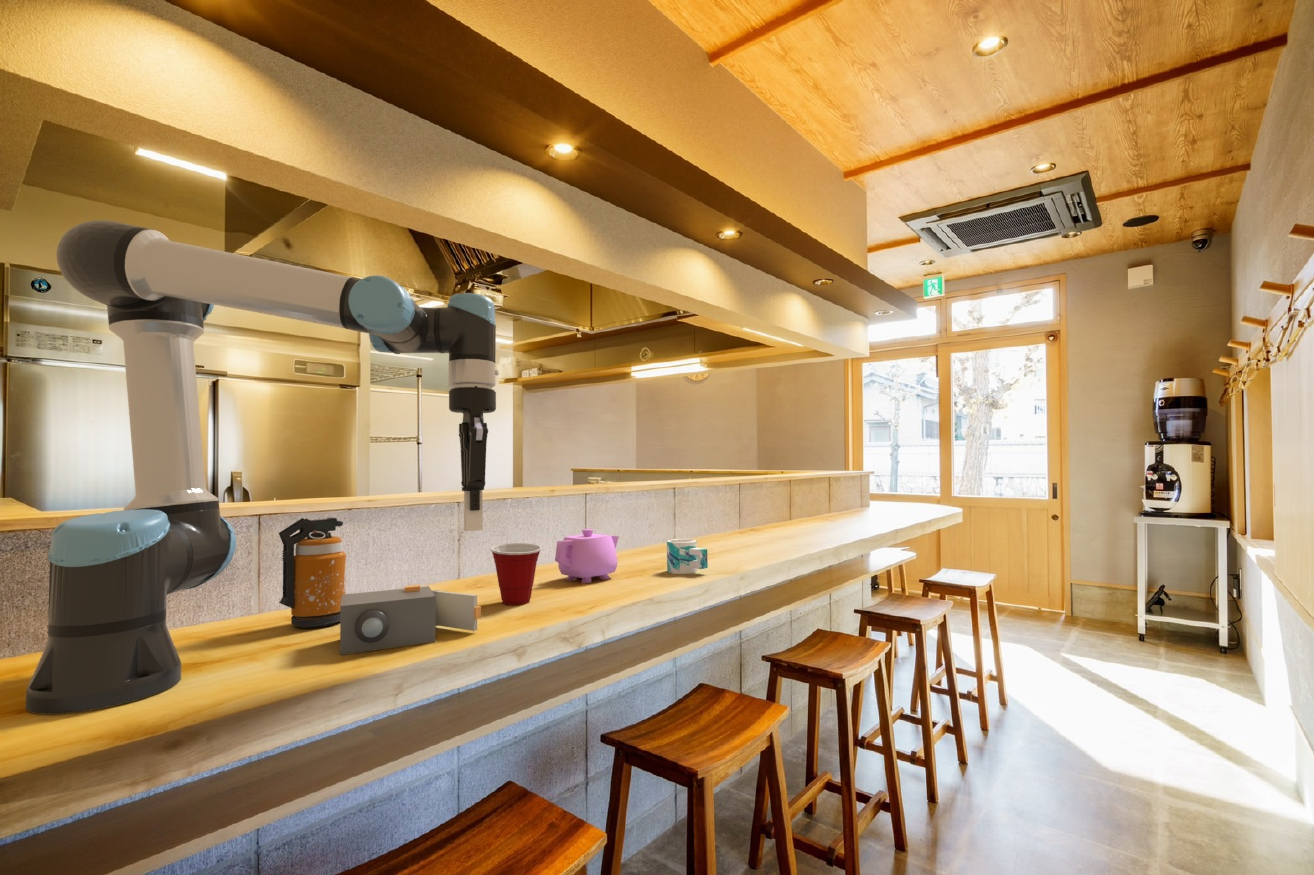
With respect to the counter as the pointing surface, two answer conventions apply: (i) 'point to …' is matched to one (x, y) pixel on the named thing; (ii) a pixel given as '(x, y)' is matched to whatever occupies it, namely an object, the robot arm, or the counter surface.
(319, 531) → the canister
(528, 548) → the plastic cup
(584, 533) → the teapot
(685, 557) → the mug
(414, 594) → the camera body
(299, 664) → the counter surface
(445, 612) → the side door
